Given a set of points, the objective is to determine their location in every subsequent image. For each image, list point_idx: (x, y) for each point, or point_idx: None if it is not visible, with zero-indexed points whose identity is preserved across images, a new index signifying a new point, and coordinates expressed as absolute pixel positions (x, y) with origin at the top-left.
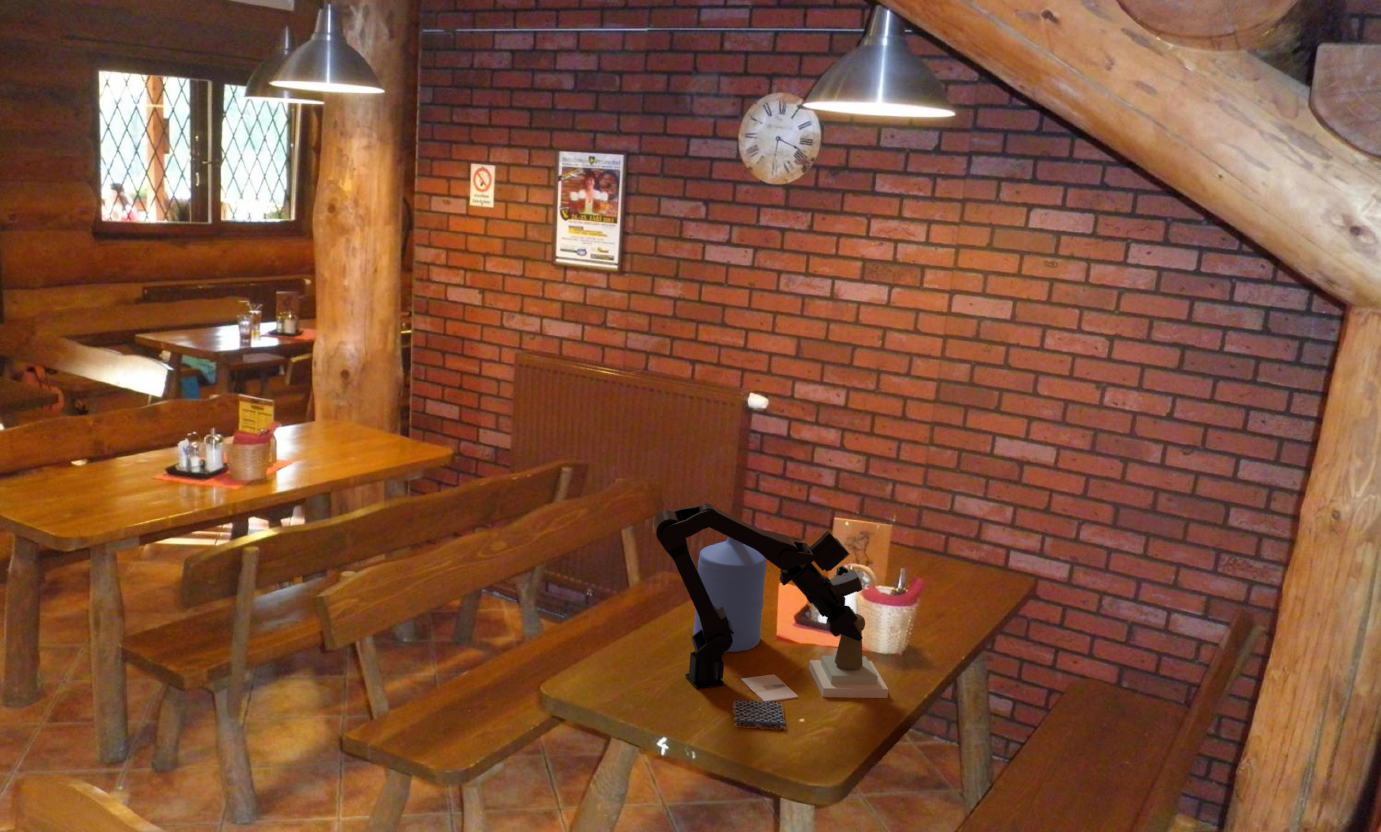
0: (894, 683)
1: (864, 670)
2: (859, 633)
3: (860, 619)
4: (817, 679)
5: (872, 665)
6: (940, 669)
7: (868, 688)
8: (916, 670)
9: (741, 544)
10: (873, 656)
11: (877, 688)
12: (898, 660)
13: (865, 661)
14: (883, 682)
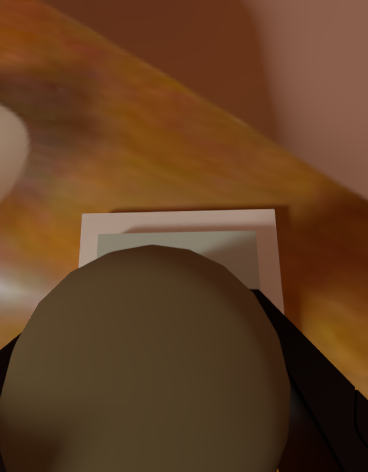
0: (177, 177)
1: None
2: (294, 327)
3: (243, 326)
4: None
5: (113, 217)
6: (96, 53)
7: (276, 268)
8: (101, 107)
9: None
10: (12, 193)
11: (273, 240)
12: (41, 135)
13: (139, 244)
14: (229, 212)
